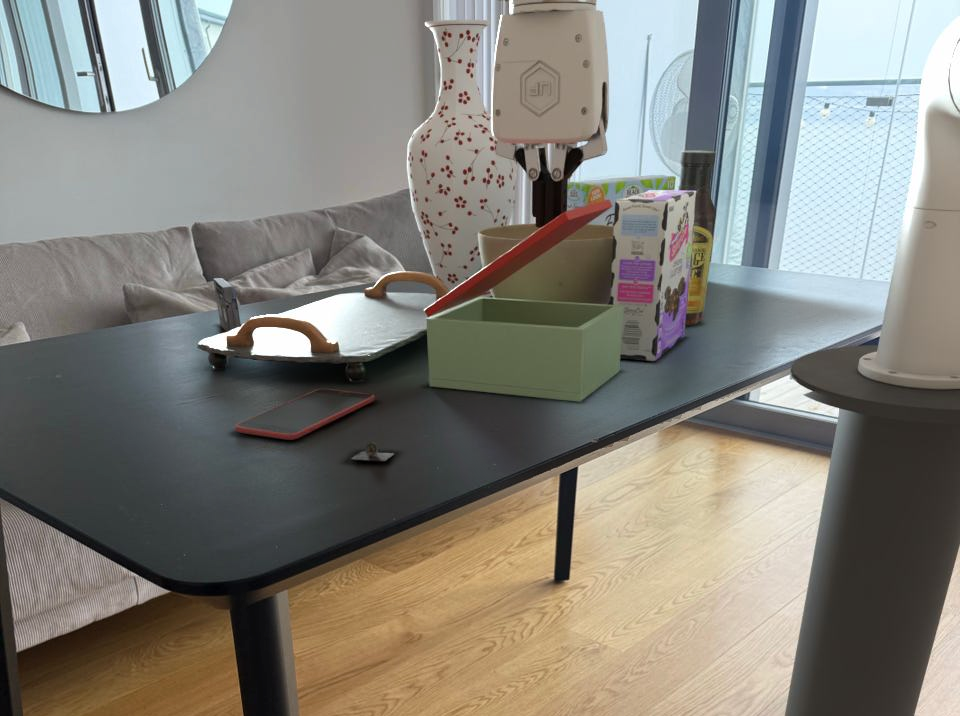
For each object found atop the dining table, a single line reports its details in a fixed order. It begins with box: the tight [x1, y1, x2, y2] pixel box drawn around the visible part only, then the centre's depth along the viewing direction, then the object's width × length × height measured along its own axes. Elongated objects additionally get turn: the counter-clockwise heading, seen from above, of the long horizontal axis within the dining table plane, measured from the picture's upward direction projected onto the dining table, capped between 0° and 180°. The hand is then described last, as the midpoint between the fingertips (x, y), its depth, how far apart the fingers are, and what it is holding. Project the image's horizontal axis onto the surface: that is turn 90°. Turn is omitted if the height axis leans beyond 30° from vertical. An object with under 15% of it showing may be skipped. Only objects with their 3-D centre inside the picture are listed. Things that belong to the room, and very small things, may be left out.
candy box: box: [610, 189, 696, 362], centre depth 103 cm, size 14×6×16 cm, turn 155°
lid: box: [424, 199, 612, 317], centre depth 90 cm, size 17×13×1 cm
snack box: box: [567, 174, 677, 226], centre depth 144 cm, size 21×6×15 cm, turn 132°
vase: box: [406, 19, 518, 299], centre depth 131 cm, size 16×16×35 cm
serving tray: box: [196, 270, 473, 383], centre depth 111 cm, size 39×23×6 cm, turn 157°
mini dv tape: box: [212, 277, 242, 332], centre depth 120 cm, size 8×2×6 cm, turn 23°
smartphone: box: [234, 388, 375, 441], centre depth 86 cm, size 7×1×14 cm
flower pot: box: [478, 222, 614, 305], centre depth 111 cm, size 18×18×12 cm
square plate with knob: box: [350, 441, 395, 462], centre depth 75 cm, size 3×3×1 cm
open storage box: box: [426, 297, 623, 403], centre depth 94 cm, size 17×13×7 cm
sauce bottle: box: [677, 150, 717, 327], centre depth 114 cm, size 6×6×20 cm
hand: (549, 225), depth 88 cm, fingers closed
